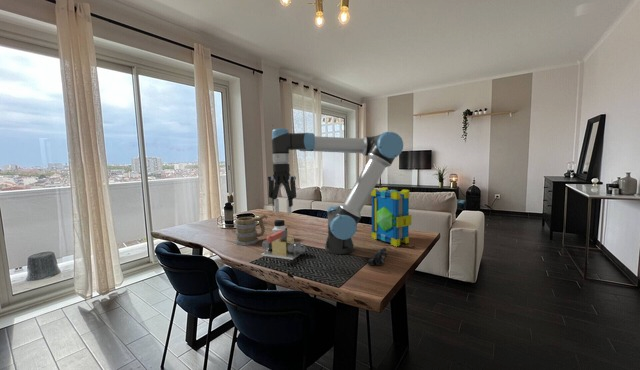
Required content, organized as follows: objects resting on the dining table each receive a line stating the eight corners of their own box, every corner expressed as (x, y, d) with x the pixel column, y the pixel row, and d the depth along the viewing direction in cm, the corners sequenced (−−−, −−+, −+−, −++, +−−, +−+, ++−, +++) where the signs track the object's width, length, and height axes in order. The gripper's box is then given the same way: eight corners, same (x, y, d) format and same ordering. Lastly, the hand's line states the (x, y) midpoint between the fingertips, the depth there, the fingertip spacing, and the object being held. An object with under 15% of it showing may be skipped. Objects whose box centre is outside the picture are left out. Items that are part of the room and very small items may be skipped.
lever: (281, 237, 140) (281, 229, 140) (288, 238, 138) (288, 229, 138) (264, 246, 126) (264, 236, 126) (271, 246, 125) (271, 237, 124)
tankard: (238, 246, 151) (236, 220, 150) (233, 241, 162) (232, 216, 161) (272, 240, 161) (271, 216, 159) (265, 236, 172) (264, 212, 170)
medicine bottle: (283, 241, 159) (283, 221, 158) (272, 240, 160) (271, 221, 159) (287, 238, 166) (286, 218, 165) (276, 237, 167) (275, 218, 166)
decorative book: (395, 248, 141) (395, 191, 138) (366, 238, 161) (365, 188, 158) (413, 244, 148) (414, 189, 145) (384, 234, 168) (384, 186, 165)
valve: (309, 251, 140) (308, 238, 139) (297, 260, 128) (297, 245, 127) (271, 247, 149) (271, 234, 148) (257, 254, 137) (256, 241, 136)
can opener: (381, 269, 116) (381, 256, 115) (366, 266, 119) (366, 253, 119) (392, 256, 131) (392, 244, 131) (378, 253, 135) (378, 242, 134)
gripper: (258, 163, 124) (261, 213, 126) (295, 162, 116) (297, 215, 118) (268, 163, 131) (270, 210, 133) (303, 162, 123) (304, 212, 125)
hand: (282, 213), depth 125 cm, fingers open, 6 cm apart
